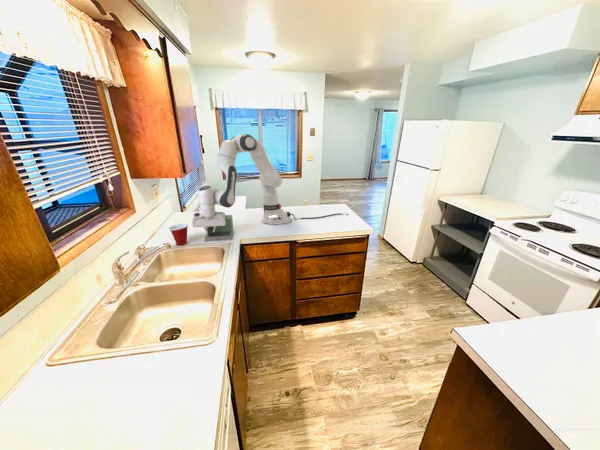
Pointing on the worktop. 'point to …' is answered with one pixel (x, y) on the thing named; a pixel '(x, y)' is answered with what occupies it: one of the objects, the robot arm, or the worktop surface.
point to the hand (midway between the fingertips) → (210, 232)
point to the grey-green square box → (222, 231)
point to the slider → (210, 231)
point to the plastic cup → (179, 233)
